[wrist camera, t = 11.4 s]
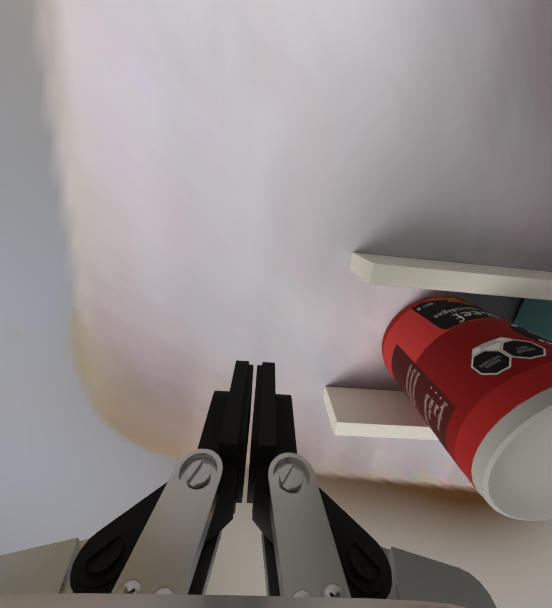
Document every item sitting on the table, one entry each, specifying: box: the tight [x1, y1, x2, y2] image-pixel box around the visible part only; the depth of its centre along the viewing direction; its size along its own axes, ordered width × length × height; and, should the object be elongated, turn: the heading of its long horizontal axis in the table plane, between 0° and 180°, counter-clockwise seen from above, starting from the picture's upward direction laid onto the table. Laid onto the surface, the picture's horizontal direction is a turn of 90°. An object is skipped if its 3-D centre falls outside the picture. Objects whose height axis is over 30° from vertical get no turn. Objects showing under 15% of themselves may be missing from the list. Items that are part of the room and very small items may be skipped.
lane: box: [323, 252, 552, 440], centre depth 18 cm, size 13×19×6 cm
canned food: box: [382, 297, 552, 521], centre depth 16 cm, size 8×8×11 cm
